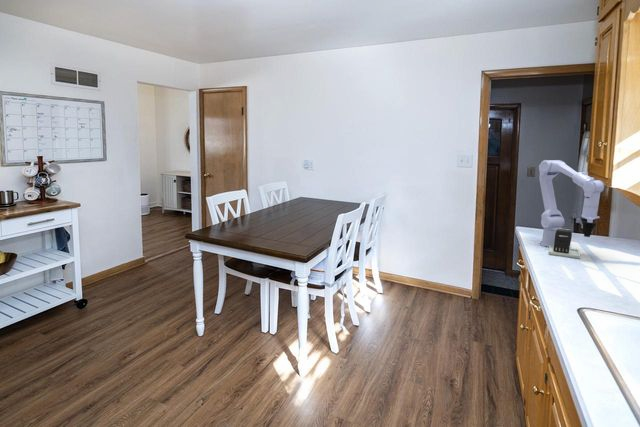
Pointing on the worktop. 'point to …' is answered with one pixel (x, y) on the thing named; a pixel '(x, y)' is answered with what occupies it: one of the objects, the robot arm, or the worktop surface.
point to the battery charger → (562, 240)
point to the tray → (572, 253)
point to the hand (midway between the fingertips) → (586, 234)
